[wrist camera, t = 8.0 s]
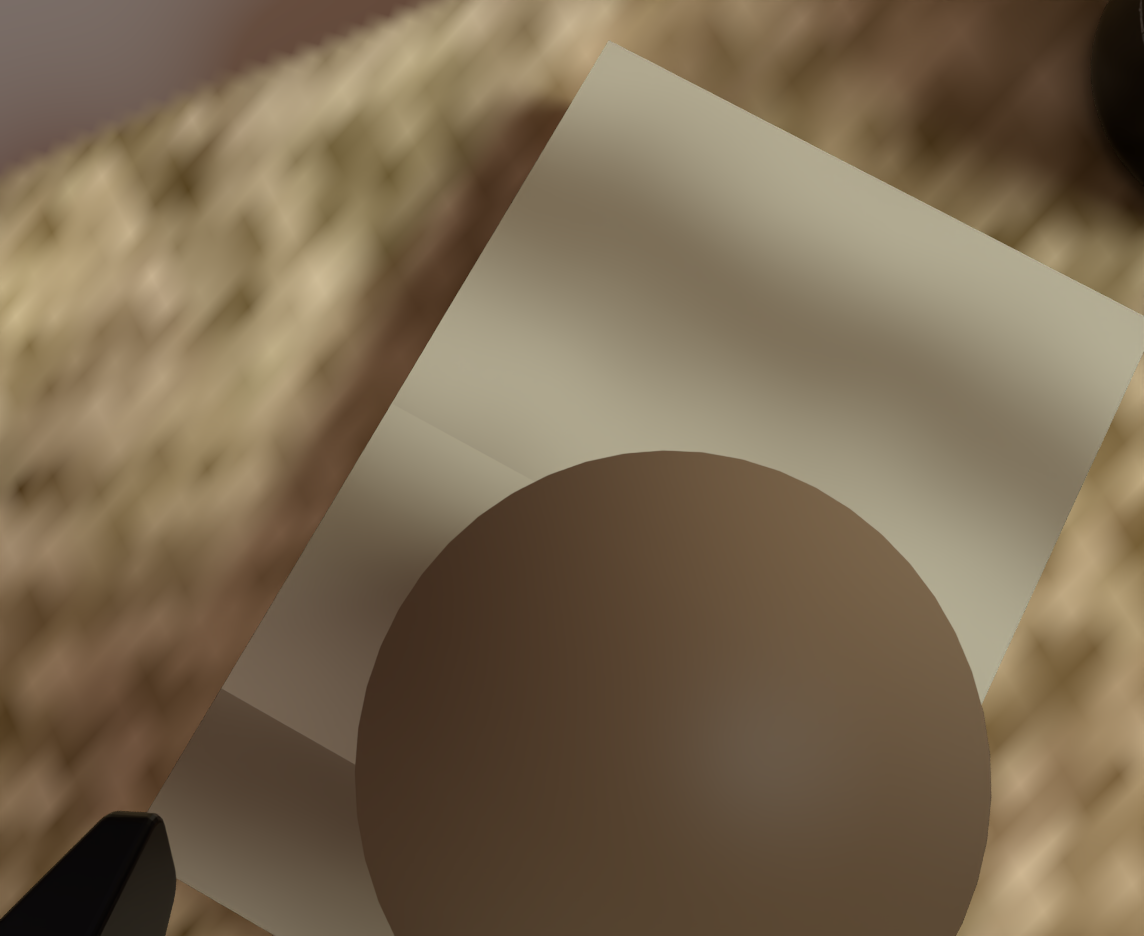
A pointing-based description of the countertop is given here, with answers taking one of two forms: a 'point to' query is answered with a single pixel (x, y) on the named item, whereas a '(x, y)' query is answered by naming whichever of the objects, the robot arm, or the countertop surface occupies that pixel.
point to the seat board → (662, 430)
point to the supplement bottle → (1121, 80)
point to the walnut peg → (672, 719)
